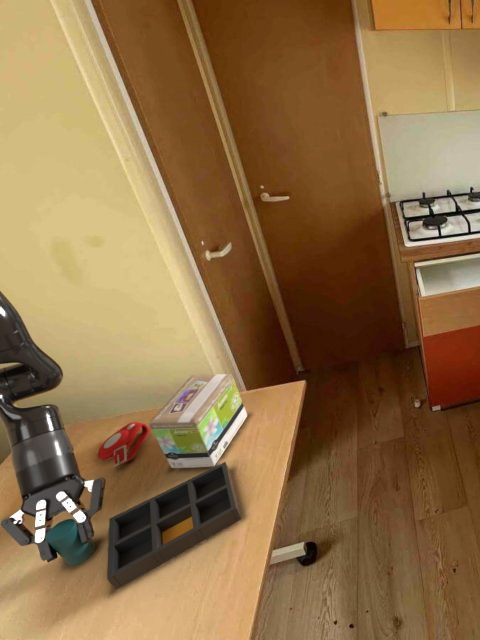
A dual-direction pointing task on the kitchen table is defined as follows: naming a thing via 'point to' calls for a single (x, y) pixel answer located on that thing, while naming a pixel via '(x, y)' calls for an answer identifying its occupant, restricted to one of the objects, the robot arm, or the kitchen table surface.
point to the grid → (170, 524)
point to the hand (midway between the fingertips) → (70, 550)
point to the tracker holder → (123, 443)
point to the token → (69, 542)
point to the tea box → (199, 421)
